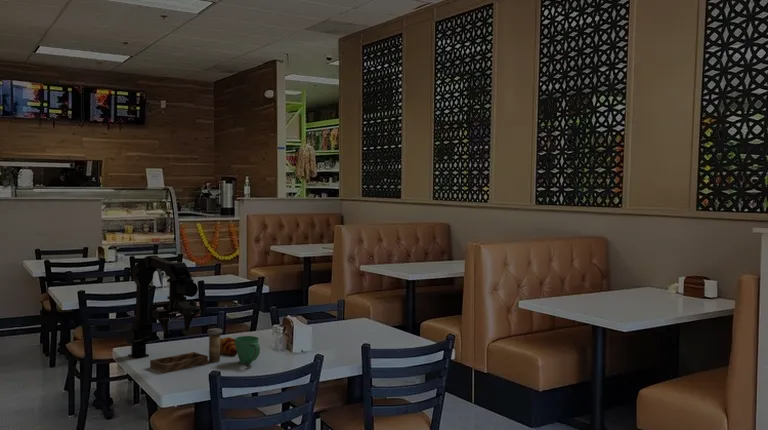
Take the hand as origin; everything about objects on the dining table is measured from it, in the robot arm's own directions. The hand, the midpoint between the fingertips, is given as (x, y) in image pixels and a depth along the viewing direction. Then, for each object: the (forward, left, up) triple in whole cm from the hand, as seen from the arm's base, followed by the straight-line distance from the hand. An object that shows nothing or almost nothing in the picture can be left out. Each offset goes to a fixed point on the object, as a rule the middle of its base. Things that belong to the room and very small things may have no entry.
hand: (176, 332), depth 263 cm
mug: (+14, +26, -15) cm, 33 cm away
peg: (+1, +18, -15) cm, 23 cm away
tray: (-3, +4, -15) cm, 15 cm away
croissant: (-9, +32, -15) cm, 36 cm away
